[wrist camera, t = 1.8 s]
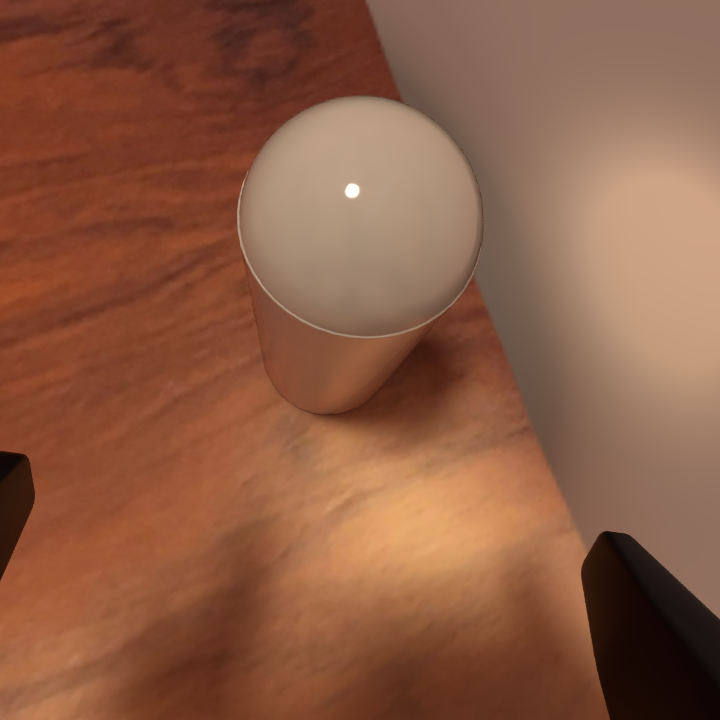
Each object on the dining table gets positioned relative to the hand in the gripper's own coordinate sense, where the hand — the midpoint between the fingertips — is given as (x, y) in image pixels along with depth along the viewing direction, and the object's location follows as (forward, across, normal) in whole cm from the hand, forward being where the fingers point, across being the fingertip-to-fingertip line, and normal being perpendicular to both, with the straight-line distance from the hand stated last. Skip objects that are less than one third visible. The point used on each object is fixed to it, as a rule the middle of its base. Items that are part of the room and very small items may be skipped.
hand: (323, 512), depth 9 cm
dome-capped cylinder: (+12, 0, +4) cm, 13 cm away
